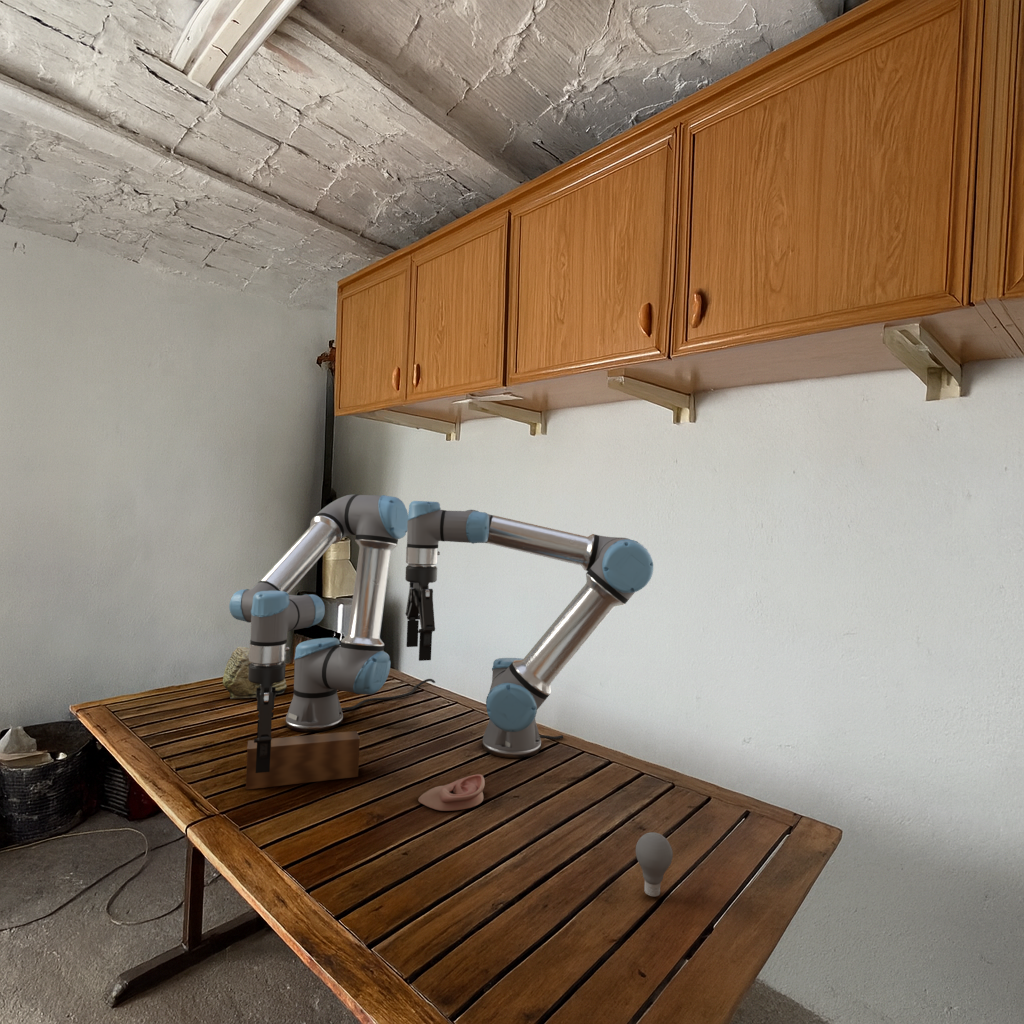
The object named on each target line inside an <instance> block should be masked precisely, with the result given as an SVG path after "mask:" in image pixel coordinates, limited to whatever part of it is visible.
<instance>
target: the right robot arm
mask: <svg viewBox="0 0 1024 1024" xmlns="http://www.w3.org/2000/svg"><path fill="white" fill-rule="evenodd" d="M407 521H408V524H407V532H406V547H405V550H406V551H405V564H407V565H406V566H405V578H404V579H405V581H406V582H408V583H409V588H408V596H407V601H406V602H407V603H406V609H405V613H404V614H405V616H406V619H407V622H406V623H407V624H406V644H405V645H406V646H405V647H406V648H415V647H416V648H418V661H419V662H421V661H432V646H433V645H432V644H433V643H432V642H433V632H435V631H436V624H435V610H434V590H433V588H430V585H429V584H432V583H436V582H437V581H438V567H437V566H436V565H437V564H438V558H439V557H438V556H440V555H441V552H440V551H439V542H450V543H451V542H452V543H469V544H473V545H475V544H487V545H492V546H497V547H500V548H506V549H508V550H509V549H510V550H515V551H518V552H522V553H525V554H526V553H527V554H530V555H535V556H539V557H543V558H549V559H552V560H555V561H561V562H565V563H568V564H573V565H577V566H580V567H582V569H583V570H584V571H586V572H585V579H586V581H585V584H584V585H583V586H582V588H581V589H580V590H579V591H578V592H577V593H576V595H575V596H574V597H573V598H572V600H570V602H569V603H568V604H567V606H566V607H565V608H564V609H563V611H561V613H560V614H559V615H558V616H557V618H556V619H555V620H554V622H553V623H552V624H551V625H550V626H549V627H548V628H547V630H546V631H545V632H544V633H543V635H542V636H541V637H540V638H539V640H538V641H536V643H535V644H534V645H533V647H532V648H531V649H530V650H529V651H528V652H527V654H526V655H525V656H524V657H499V658H496V659H495V660H493V662H492V668H491V671H492V677H491V684H490V687H489V692H488V693H487V696H486V699H485V706H486V707H485V708H486V713H487V717H488V718H489V720H488V722H487V725H486V728H485V730H484V733H483V737H482V748H483V750H484V751H485V752H487V753H488V754H490V755H493V756H495V757H500V758H505V759H522V758H523V759H524V758H528V757H532V756H536V755H537V754H538V753H539V752H540V751H541V749H542V740H541V739H546V740H552V741H553V740H554V741H555V740H557V741H558V740H561V739H564V735H556V736H555V735H554V736H553V735H545V734H540V731H539V728H538V725H537V724H538V723H537V720H536V716H537V713H538V709H540V708H541V706H542V705H543V704H544V702H545V701H546V700H547V699H548V697H549V696H550V695H551V693H552V688H551V684H552V682H553V681H554V680H555V678H557V677H558V675H559V674H560V673H561V672H562V671H563V669H564V668H565V667H566V666H567V665H568V663H569V662H571V659H573V658H574V656H575V655H576V653H577V652H578V651H579V650H581V647H582V646H583V645H584V644H585V643H586V641H588V639H589V638H590V637H591V635H592V634H593V633H594V632H595V631H596V629H597V628H598V627H600V624H601V623H602V622H603V621H604V620H605V619H606V618H607V617H608V616H609V614H610V613H611V611H612V610H613V609H614V608H616V607H620V606H621V607H622V606H625V605H626V604H627V603H628V601H629V600H631V598H632V597H633V595H634V594H635V593H637V592H639V591H640V590H643V589H644V588H645V587H646V586H647V585H648V584H649V583H650V581H651V580H652V577H653V573H654V561H653V557H652V555H651V554H650V552H649V550H648V548H646V547H645V546H644V545H643V544H641V543H640V542H638V541H637V540H634V539H630V538H627V537H618V536H617V537H616V536H604V535H598V534H595V533H591V534H590V535H589V536H586V535H582V534H577V533H573V532H568V531H564V530H560V529H555V528H550V527H548V526H547V527H546V526H542V525H538V524H533V523H529V522H525V521H522V520H521V521H520V520H515V519H511V518H508V517H504V516H503V517H502V516H499V515H494V514H489V513H487V512H484V511H479V510H476V509H467V510H444V509H441V504H440V502H439V501H428V500H427V501H426V500H413V501H410V503H409V504H408V519H407ZM419 625H420V628H419Z"/></svg>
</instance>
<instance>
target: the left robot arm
mask: <svg viewBox="0 0 1024 1024" xmlns="http://www.w3.org/2000/svg"><path fill="white" fill-rule="evenodd" d="M408 513H409V511H408V509H407V507H406V505H405V503H404V501H402V499H400V497H399V498H398V497H397V496H392V495H384V494H381V495H379V494H378V495H377V494H376V495H375V494H347V495H344V496H341V497H339V498H337V499H335V500H333V501H332V502H330V503H328V504H327V505H326V506H324V507H323V508H322V509H321V510H320V511H319V512H317V514H315V515H314V516H313V517H312V518H311V520H310V522H309V523H310V525H309V527H308V528H307V529H306V530H305V531H304V532H303V534H302V535H301V536H300V537H299V538H298V539H297V540H296V541H295V542H294V543H292V545H291V546H290V548H288V549H287V550H286V551H285V552H284V553H283V555H281V557H280V558H279V559H278V560H277V561H276V562H275V563H274V564H273V566H271V568H270V569H269V570H268V571H267V572H266V573H265V574H264V575H263V576H262V577H261V578H260V579H259V580H258V581H257V583H256V584H255V585H253V587H251V589H249V588H246V589H239V590H236V592H234V593H233V594H232V596H231V598H230V601H229V605H228V606H229V613H230V614H231V616H232V617H233V619H235V620H237V621H241V622H246V623H250V641H249V648H250V649H249V661H250V662H251V664H250V665H249V674H248V680H249V681H250V682H252V683H255V684H257V683H258V684H260V688H257V691H256V697H255V699H256V711H257V712H258V714H257V717H258V719H257V728H256V738H254V739H253V740H254V743H257V754H256V773H262V772H269V771H270V752H271V740H272V721H273V720H272V719H273V718H274V712H273V711H274V710H275V699H276V696H277V694H276V687H272V684H273V683H278V682H281V681H283V680H284V678H285V679H286V662H285V661H286V659H287V656H286V655H287V652H289V650H290V646H287V642H288V632H291V631H295V630H301V629H308V628H311V627H312V626H313V627H314V626H316V625H317V624H319V623H320V622H322V620H323V619H324V617H325V613H326V606H325V603H324V601H323V599H322V598H321V597H319V596H318V595H317V594H307V593H304V594H302V595H296V594H290V593H291V591H292V590H293V589H294V588H295V587H296V586H297V585H298V584H299V582H300V581H301V580H302V579H303V578H304V577H305V575H307V574H308V572H309V571H310V570H311V569H312V568H313V567H314V565H315V564H316V563H317V562H318V561H319V560H320V558H321V557H322V556H323V555H324V554H325V553H326V552H327V550H328V549H329V548H330V547H331V546H332V545H334V544H335V545H336V544H338V543H339V542H340V541H341V540H342V539H343V538H345V537H348V536H355V538H354V539H355V540H354V542H355V543H356V544H357V545H358V547H359V551H358V556H357V557H358V559H357V565H356V566H357V567H356V573H355V580H354V586H353V593H352V600H351V601H352V602H351V608H350V616H349V624H348V632H347V634H346V636H344V637H343V638H342V639H341V640H339V638H337V637H321V638H313V639H307V640H304V641H302V642H299V643H298V644H297V645H296V647H295V652H294V653H295V654H294V658H293V659H294V670H293V671H294V672H293V695H292V696H293V697H292V699H291V702H290V704H289V708H288V711H287V713H286V715H285V726H286V728H287V729H289V730H291V731H294V732H295V731H296V732H301V733H316V732H325V731H329V730H332V729H335V728H337V727H339V726H340V725H342V723H343V722H344V714H343V711H344V712H345V711H351V710H355V709H356V708H359V707H360V706H361V705H363V704H365V703H368V702H374V701H375V702H376V701H389V700H396V699H400V698H405V697H408V696H410V695H412V694H414V693H415V692H416V690H417V688H419V687H420V686H422V685H423V684H425V683H428V682H432V683H433V684H435V683H436V681H435V680H434V679H433V678H426V679H424V680H422V681H420V682H419V683H417V684H416V685H414V686H413V688H412V690H410V691H408V692H406V693H402V694H399V695H398V694H397V695H392V696H384V697H371V698H366V699H363V700H361V701H359V702H358V703H356V704H355V705H352V706H346V707H345V706H344V707H342V706H341V702H340V699H339V695H338V691H341V692H347V693H353V694H356V695H367V696H369V695H374V694H376V693H377V692H379V691H380V690H381V689H382V687H383V686H384V685H385V683H386V681H387V679H388V677H389V674H390V671H391V656H390V655H389V653H387V652H386V651H384V650H385V643H384V642H383V640H382V639H381V630H382V623H383V616H384V607H385V599H386V593H387V585H388V577H389V569H390V563H391V553H392V551H393V550H394V549H395V548H397V547H398V542H399V540H400V539H403V538H404V537H405V536H407V524H408V521H407V519H408Z"/></svg>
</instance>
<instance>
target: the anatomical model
mask: <svg viewBox="0 0 1024 1024" xmlns="http://www.w3.org/2000/svg"><path fill="white" fill-rule="evenodd" d="M485 782H486V781H485V777H484V775H483V774H480V773H479V774H478V773H477V774H472V775H469V776H465V777H462V778H459V779H457V780H455V781H452V782H450V783H447V784H445V785H438V786H435V787H432V788H430V789H428V790H426V791H425V792H423V793H422V794H421V795H420V796H419V797H418V799H417V800H418V802H419V803H420V804H422V805H423V806H425V807H427V808H430V809H432V810H436V811H438V812H439V811H440V812H451V811H452V812H453V811H460V810H466V809H471V808H475V807H476V806H478V805H480V804H481V803H482V802H483V801H484V793H483V791H484V788H485V786H486V785H485V784H486V783H485Z"/></svg>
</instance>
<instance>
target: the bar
mask: <svg viewBox="0 0 1024 1024" xmlns="http://www.w3.org/2000/svg"><path fill="white" fill-rule="evenodd" d="M360 741H361V738H360V736H359V733H358V731H357V730H351V731H341V732H329V733H319V734H308V735H307V734H306V735H295V736H284V737H273V738H272V740H271V752H270V771H269V772H262V773H256V754H257V743H254V739H252V740H251V739H250V740H247V746H246V747H247V748H246V749H247V750H246V774H245V776H246V777H245V790H256V789H264V788H273V787H280V786H289V785H298V784H308V783H315V782H324V781H334V780H342V779H350V778H351V779H352V778H359V768H360V767H359V763H360Z"/></svg>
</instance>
